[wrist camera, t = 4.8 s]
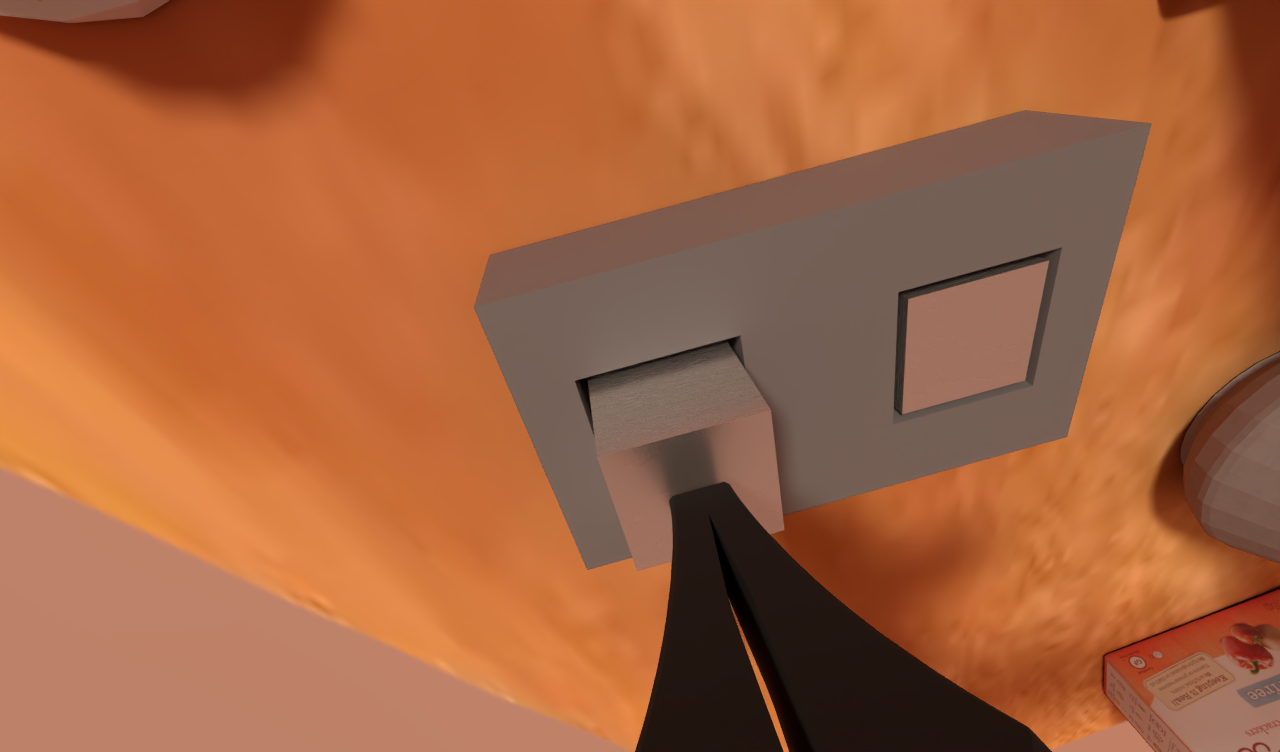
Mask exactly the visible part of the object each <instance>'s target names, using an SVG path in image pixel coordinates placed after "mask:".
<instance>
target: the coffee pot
mask: <svg viewBox="0 0 1280 752" xmlns="http://www.w3.org/2000/svg"><path fill="white" fill-rule="evenodd" d="M1181 462H1182V464H1183V465H1184V470H1183V485H1184V492H1185V500H1186V501H1187V503H1188V505H1189V507H1190V509H1191V510H1192V512H1193V514H1194V515H1195V517H1196V519H1197V520H1198V522H1199V523H1200V525H1201V527H1202V528H1203V530H1204V531H1205V532H1206V533H1207V534H1208V535H1209V536H1211V537H1213V538H1215V539H1217V540H1219V541H1221V542H1223V543H1225V544H1227V545H1229V546H1231V547H1233V548H1236V549H1239V550H1242V551H1245V552H1248V553H1251V554H1254V555H1257V556H1260V557H1263V558H1266V559H1268V560H1271V561H1274V562H1277V563H1280V352H1279V353H1276V354H1274V355H1272V356H1270V357H1268V358H1266V359H1264V360H1262V361H1260V362H1258V363H1257V364H1255V365H1254V366H1252V367H1251V368H1249V369H1248V370H1246V371H1245V372H1243V373H1242V374H1240V375H1239V376H1237V377H1236V378H1234V379H1233V380H1232V381H1231V382H1230V383H1228V384H1227V385H1226V386H1225V387H1224V388H1223V389H1221V390H1220V391H1219V392H1218V393H1217V394H1216V395H1214V396H1213V398H1212V399H1211V400H1210V401H1209V402H1208V403H1207V404H1206V405H1205V407H1204V408H1203V409H1202V410H1201V411H1200V412H1199V413H1198V415H1197V416H1196V418H1195V419H1194V421H1193V422H1192V424H1191V425H1190V427H1189V429H1188V430H1187V432H1186V435H1185V437H1184V440H1183V443H1182V446H1181Z"/></svg>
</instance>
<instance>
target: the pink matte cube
mask: <svg viewBox="0 0 1280 752" xmlns="http://www.w3.org/2000/svg"><path fill="white" fill-rule="evenodd" d="M1048 264H1049V260H1047V259H1044V258H1042V257H1039V256H1037V255H1032V256H1029V257H1025V258H1021V259H1018V260H1014V261H1010V262H1007V263H1003V264H999V265H996V266H992V267H988V268H985V269H981V270H978V271H974V272H970V273H967V274H963V275H959V276H956V277H952V278H948V279H945V280H941V281H937V282H934V283H930V284H926V285H923V286H919V287H915V288H912V289H908V290H904V291H901V292H898V314H897V338H896V362H895V386H894V407H895V408H896V409H897V410H898V411H899V412H900V413H901V414H906V413H909V412H913V411H916V410H920V409H924V408H927V407H931V406H935V405H938V404H942V403H945V402H949V401H953V400H956V399H960V398H964V397H967V396H971V395H974V394H978V393H982V392H985V391H989V390H992V389H996V388H1000V387H1003V386H1007V385H1011V384H1014V383H1018V382H1021V381H1025V379H1026V374H1027V369H1028V364H1029V359H1030V354H1031V349H1032V344H1033V339H1034V334H1035V329H1036V324H1037V319H1038V314H1039V309H1040V304H1041V299H1042V294H1043V289H1044V284H1045V279H1046V274H1047V269H1048Z"/></svg>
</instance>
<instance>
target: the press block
mask: <svg viewBox="0 0 1280 752" xmlns="http://www.w3.org/2000/svg"><path fill="white" fill-rule="evenodd" d="M1151 124H1152V123H1143V122H1133V121H1123V120H1114V119H1104V118H1094V117H1085V116H1075V115H1065V114H1056V113H1046V112H1036V111H1027V110H1025V111H1021V112H1017V113H1014V114H1010V115H1006V116H1003V117H999V118H995V119H992V120H988V121H984V122H980V123H977V124H973V125H969V126H966V127H962V128H958V129H955V130H951V131H947V132H944V133H940V134H936V135H932V136H929V137H925V138H921V139H918V140H914V141H910V142H907V143H903V144H899V145H895V146H892V147H888V148H884V149H881V150H877V151H873V152H870V153H866V154H862V155H859V156H855V157H851V158H847V159H844V160H840V161H836V162H833V163H829V164H825V165H822V166H818V167H814V168H810V169H807V170H803V171H799V172H796V173H792V174H788V175H785V176H781V177H777V178H774V179H770V180H766V181H762V182H759V183H755V184H751V185H748V186H744V187H740V188H737V189H733V190H729V191H725V192H722V193H718V194H714V195H711V196H707V197H703V198H700V199H696V200H692V201H689V202H685V203H681V204H677V205H674V206H670V207H666V208H663V209H659V210H655V211H652V212H648V213H644V214H640V215H637V216H633V217H629V218H626V219H622V220H618V221H615V222H611V223H607V224H604V225H600V226H596V227H592V228H589V229H585V230H581V231H578V232H574V233H570V234H567V235H563V236H559V237H555V238H552V239H548V240H544V241H541V242H537V243H533V244H530V245H526V246H522V247H519V248H515V249H511V250H507V251H504V252H500V253H496V254H493V255H490V256H489V259H488V262H487V266H486V269H485V272H484V276H483V279H482V282H481V286H480V289H479V292H478V296H477V299H476V302H475V305H474V309H475V311H476V313H477V316H478V318H479V320H480V323H481V325H482V327H483V330H484V332H485V334H486V337H487V339H488V341H489V343H490V346H491V348H492V350H493V353H494V355H495V357H496V360H497V362H498V364H499V367H500V369H501V371H502V374H503V376H504V378H505V381H506V383H507V385H508V387H509V390H510V392H511V394H512V397H513V399H514V401H515V404H516V406H517V408H518V411H519V413H520V415H521V418H522V420H523V422H524V424H525V427H526V429H527V431H528V434H529V436H530V438H531V441H532V443H533V445H534V448H535V450H536V452H537V455H538V457H539V459H540V461H541V464H542V466H543V468H544V471H545V473H546V475H547V478H548V480H549V482H550V485H551V487H552V489H553V492H554V494H555V496H556V498H557V501H558V503H559V505H560V508H561V510H562V512H563V515H564V517H565V519H566V522H567V524H568V526H569V529H570V531H571V533H572V536H573V538H574V540H575V542H576V545H577V547H578V549H579V552H580V554H581V556H582V559H583V561H584V563H585V566H586V568H587V570H589V569H592V568H596V567H600V566H603V565H607V564H610V563H614V562H618V561H621V560H625V559H628V558H632V555H631V552H630V549H629V546H628V543H627V540H626V538H625V535H624V532H623V529H622V526H621V523H620V521H619V518H618V515H617V512H616V509H615V507H614V504H613V501H612V498H611V495H610V492H609V490H608V487H607V484H606V481H605V478H604V475H603V473H602V470H601V467H600V464H599V461H598V458H597V452H596V444H595V436H594V428H593V420H592V411H591V403H590V395H589V387H588V379H587V377H590V376H594V375H597V374H601V373H605V372H608V371H612V370H616V369H619V368H623V367H627V366H630V365H634V364H638V363H641V362H645V361H649V360H652V359H656V358H660V357H663V356H667V355H671V354H674V353H678V352H681V351H685V350H689V349H692V348H696V347H700V346H703V345H707V344H711V343H714V342H718V341H722V340H725V339H726V340H727V342H728V344H729V345H730V347H731V348H732V350H733V351H734V353H735V354H736V356H737V358H738V359H739V361H740V362H741V364H742V365H743V367H744V369H745V370H746V372H747V373H748V375H749V376H750V378H751V379H752V381H753V383H754V384H755V386H756V387H757V389H758V390H759V392H760V394H761V395H762V397H763V398H764V400H765V401H766V403H767V405H768V406H769V408H770V409H771V415H772V424H773V433H774V441H775V450H776V459H777V468H778V477H779V486H780V494H781V503H782V512H783V515H787V514H791V513H794V512H798V511H801V510H805V509H809V508H812V507H816V506H819V505H823V504H827V503H830V502H834V501H837V500H841V499H845V498H848V497H852V496H856V495H859V494H863V493H866V492H870V491H874V490H877V489H881V488H884V487H888V486H892V485H895V484H899V483H902V482H906V481H910V480H913V479H917V478H920V477H924V476H928V475H931V474H935V473H938V472H942V471H946V470H949V469H953V468H956V467H960V466H964V465H967V464H971V463H974V462H978V461H982V460H985V459H989V458H992V457H996V456H1000V455H1003V454H1007V453H1010V452H1014V451H1018V450H1021V449H1025V448H1028V447H1032V446H1036V445H1039V444H1043V443H1046V442H1050V441H1054V440H1057V439H1061V438H1065V437H1067V435H1068V431H1069V427H1070V424H1071V420H1072V416H1073V413H1074V409H1075V405H1076V401H1077V398H1078V394H1079V390H1080V387H1081V383H1082V379H1083V376H1084V372H1085V368H1086V364H1087V361H1088V357H1089V353H1090V350H1091V346H1092V342H1093V339H1094V335H1095V331H1096V327H1097V324H1098V320H1099V316H1100V313H1101V309H1102V305H1103V301H1104V298H1105V294H1106V290H1107V287H1108V283H1109V279H1110V276H1111V272H1112V268H1113V264H1114V261H1115V257H1116V253H1117V250H1118V246H1119V242H1120V238H1121V235H1122V231H1123V227H1124V224H1125V220H1126V216H1127V213H1128V209H1129V205H1130V201H1131V198H1132V194H1133V190H1134V187H1135V183H1136V179H1137V175H1138V172H1139V168H1140V164H1141V161H1142V157H1143V153H1144V150H1145V146H1146V142H1147V138H1148V135H1149V131H1150V127H1151ZM1032 255H1037V256H1039V257H1042V258H1044V259H1047V260H1049V264H1048V269H1047V274H1046V279H1045V284H1044V289H1043V294H1042V299H1041V304H1040V309H1039V314H1038V319H1037V324H1036V329H1035V334H1034V339H1033V344H1032V349H1031V354H1030V359H1029V364H1028V369H1027V374H1026V379H1025V381H1021V382H1018V383H1014V384H1011V385H1007V386H1003V387H1000V388H996V389H992V390H989V391H985V392H982V393H978V394H974V395H971V396H967V397H964V398H960V399H956V400H953V401H949V402H945V403H942V404H938V405H935V406H931V407H927V408H924V409H920V410H916V411H913V412H909V413H906V414H901V413H900V412H899V411H898V410H897V409H896V408H895V407H894V386H895V362H896V338H897V314H898V292H901V291H904V290H908V289H912V288H915V287H919V286H923V285H926V284H930V283H934V282H937V281H941V280H945V279H948V278H952V277H956V276H959V275H963V274H967V273H970V272H974V271H978V270H981V269H985V268H988V267H992V266H996V265H999V264H1003V263H1007V262H1010V261H1014V260H1018V259H1021V258H1025V257H1029V256H1032Z"/></svg>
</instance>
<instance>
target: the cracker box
mask: <svg viewBox="0 0 1280 752" xmlns="http://www.w3.org/2000/svg"><path fill="white" fill-rule="evenodd" d="M1104 664H1105V667H1104V693H1105V694H1106V696H1107V697H1108V698H1109V699H1110V700H1111V702H1112V703H1113V704H1114V705H1115V706H1116V707H1117V709H1118V710H1119V711H1120V712H1121V713H1122V714H1123V716H1124V717H1125V718H1126V719H1127V720H1128V721H1129V722H1130V724H1131V725H1132V726H1133V727H1134V728H1135V729H1136V730H1137V732H1138V733H1139V734H1140V735H1141V736H1142V737H1143V738H1144V739H1145V741H1146V742H1147V743H1148V744H1149V745H1150V746H1151V748H1152V749H1153V750H1154V751H1155V752H1280V589H1278V590H1275V591H1273V592H1270V593H1268V594H1265V595H1262V596H1260V597H1257V598H1255V599H1252V600H1249V601H1247V602H1244V603H1242V604H1239V605H1236V606H1233V607H1231V608H1228V609H1225V610H1223V611H1220V612H1217V613H1215V614H1212V615H1210V616H1207V617H1204V618H1202V619H1199V620H1196V621H1194V622H1191V623H1189V624H1186V625H1183V626H1181V627H1178V628H1176V629H1173V630H1170V631H1168V632H1165V633H1162V634H1160V635H1157V636H1154V637H1152V638H1149V639H1146V640H1144V641H1141V642H1138V643H1136V644H1133V645H1130V646H1128V647H1125V648H1123V649H1120V650H1117V651H1114V652H1112V653H1109V654H1107V655H1105V657H1104Z"/></svg>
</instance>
